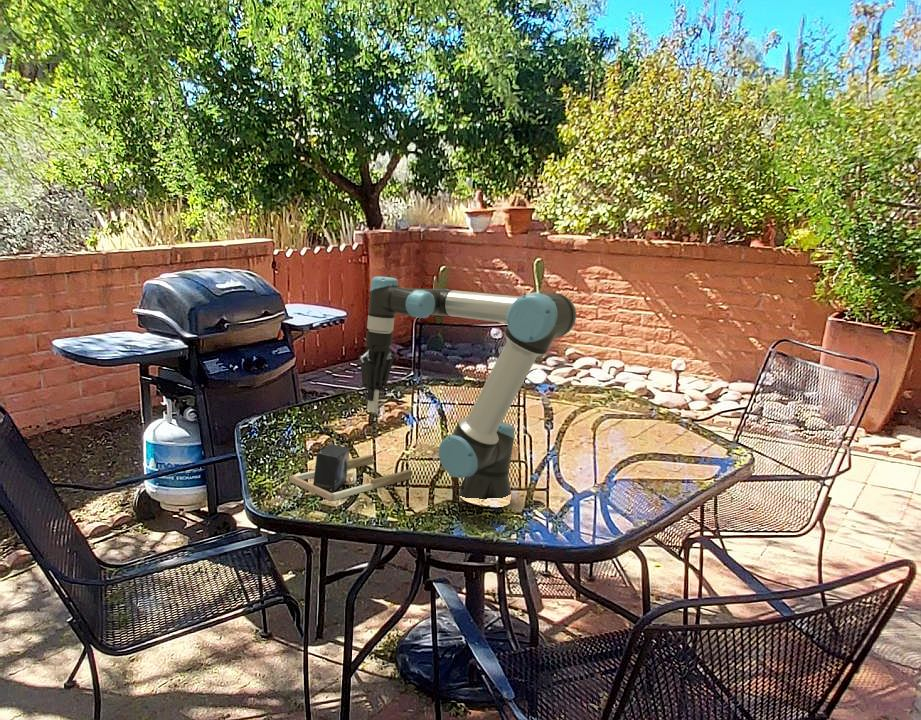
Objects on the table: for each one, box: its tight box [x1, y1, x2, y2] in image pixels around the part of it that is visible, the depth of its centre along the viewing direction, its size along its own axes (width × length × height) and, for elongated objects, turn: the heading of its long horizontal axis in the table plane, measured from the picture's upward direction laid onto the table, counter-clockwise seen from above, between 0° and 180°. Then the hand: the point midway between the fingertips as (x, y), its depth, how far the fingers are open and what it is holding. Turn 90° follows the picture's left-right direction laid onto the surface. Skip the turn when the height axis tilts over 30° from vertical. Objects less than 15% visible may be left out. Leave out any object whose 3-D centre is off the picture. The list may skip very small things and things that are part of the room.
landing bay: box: [288, 470, 374, 502], centre depth 209 cm, size 17×16×2 cm
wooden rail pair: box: [347, 454, 413, 490], centre depth 222 cm, size 17×16×2 cm
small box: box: [313, 443, 350, 493], centre depth 209 cm, size 11×6×10 cm, turn 169°
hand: (372, 411), depth 216 cm, fingers closed
